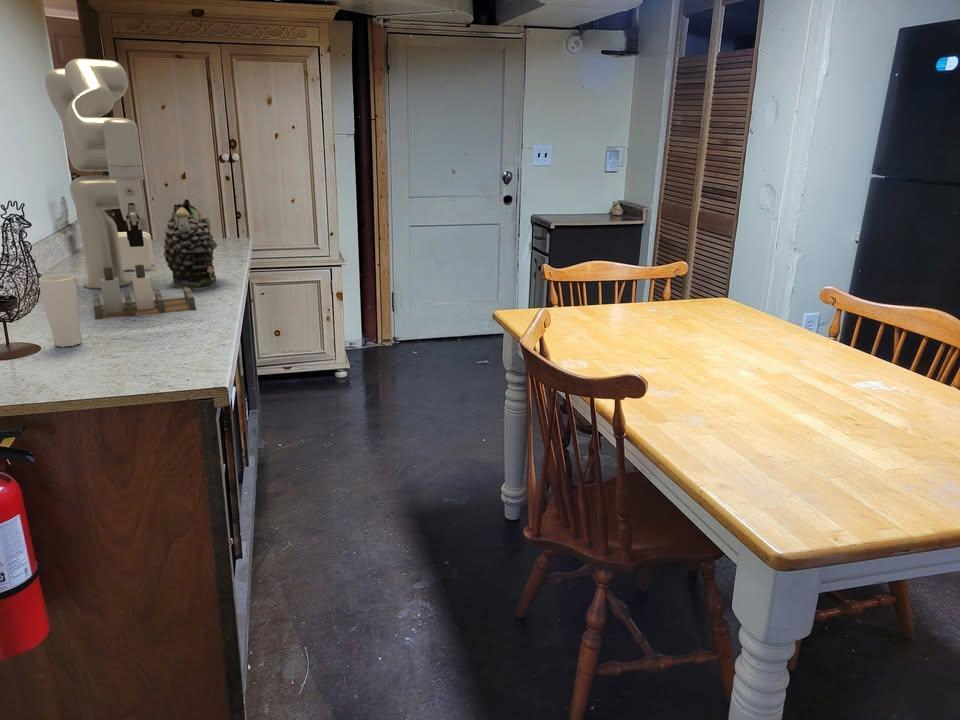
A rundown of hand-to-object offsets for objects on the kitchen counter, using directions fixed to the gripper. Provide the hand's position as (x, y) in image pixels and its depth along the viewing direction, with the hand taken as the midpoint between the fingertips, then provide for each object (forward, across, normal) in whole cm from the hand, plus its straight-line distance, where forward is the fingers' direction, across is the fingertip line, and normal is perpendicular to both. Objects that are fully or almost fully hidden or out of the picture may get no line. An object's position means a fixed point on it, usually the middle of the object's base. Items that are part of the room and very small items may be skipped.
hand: (135, 243), depth 176 cm
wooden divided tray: (+18, -1, 0) cm, 18 cm away
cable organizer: (+19, +62, +1) cm, 65 cm away
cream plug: (+17, 0, 0) cm, 17 cm away
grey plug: (+17, -1, +7) cm, 18 cm away
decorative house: (+18, +28, -16) cm, 37 cm away
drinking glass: (+18, -24, +17) cm, 34 cm away
